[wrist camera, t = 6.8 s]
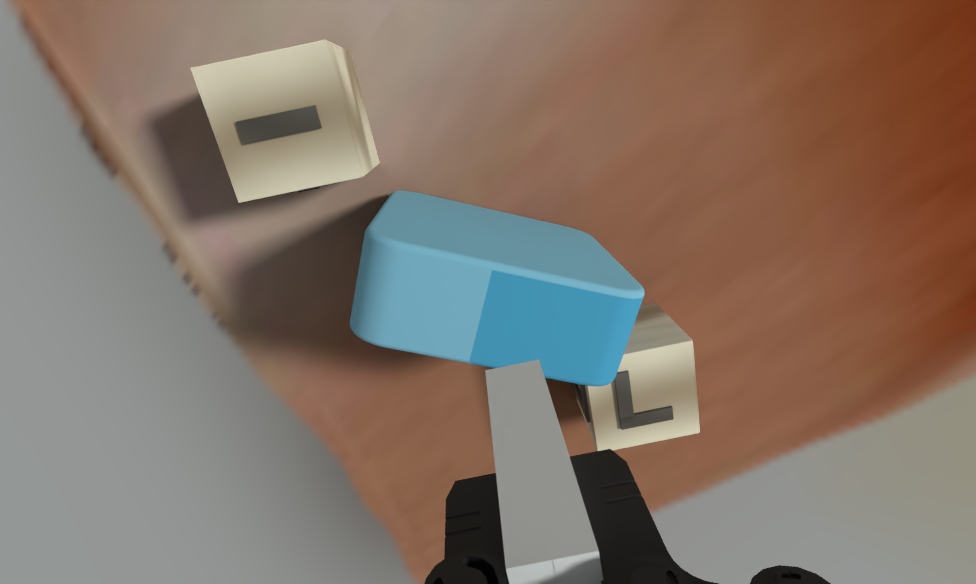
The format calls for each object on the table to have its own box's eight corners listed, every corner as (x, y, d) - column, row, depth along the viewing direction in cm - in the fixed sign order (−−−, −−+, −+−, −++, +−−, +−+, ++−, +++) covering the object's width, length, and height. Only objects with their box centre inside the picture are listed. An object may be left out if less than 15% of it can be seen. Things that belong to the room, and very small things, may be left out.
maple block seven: (560, 321, 35) (581, 365, 29) (654, 301, 35) (694, 341, 29) (574, 402, 37) (595, 458, 31) (663, 384, 37) (701, 437, 31)
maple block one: (238, 75, 29) (183, 69, 23) (350, 51, 29) (324, 38, 23) (275, 188, 31) (234, 208, 25) (380, 166, 31) (363, 181, 25)
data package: (380, 259, 33) (341, 341, 22) (394, 186, 32) (359, 234, 20) (568, 298, 34) (623, 394, 23) (589, 230, 33) (657, 298, 22)
